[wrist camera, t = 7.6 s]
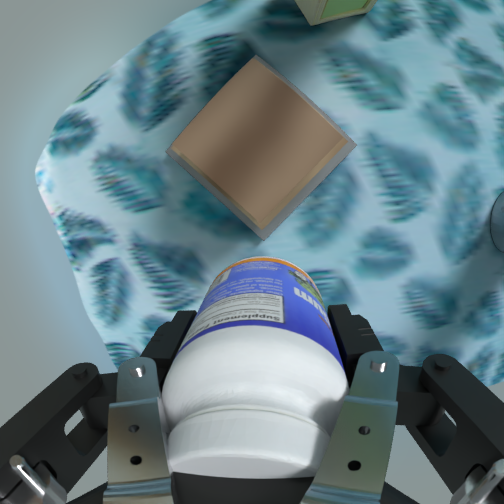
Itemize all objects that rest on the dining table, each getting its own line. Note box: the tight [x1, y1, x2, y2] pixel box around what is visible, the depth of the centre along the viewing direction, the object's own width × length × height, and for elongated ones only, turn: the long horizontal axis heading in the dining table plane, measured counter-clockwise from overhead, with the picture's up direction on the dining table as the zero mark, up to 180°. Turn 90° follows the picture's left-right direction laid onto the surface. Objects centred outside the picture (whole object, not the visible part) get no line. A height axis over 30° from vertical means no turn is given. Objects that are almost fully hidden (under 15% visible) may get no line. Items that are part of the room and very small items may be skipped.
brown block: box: [171, 58, 348, 230], centre depth 25 cm, size 11×11×8 cm
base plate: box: [165, 55, 357, 241], centre depth 30 cm, size 14×14×1 cm
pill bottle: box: [162, 256, 350, 479], centre depth 10 cm, size 5×5×10 cm
